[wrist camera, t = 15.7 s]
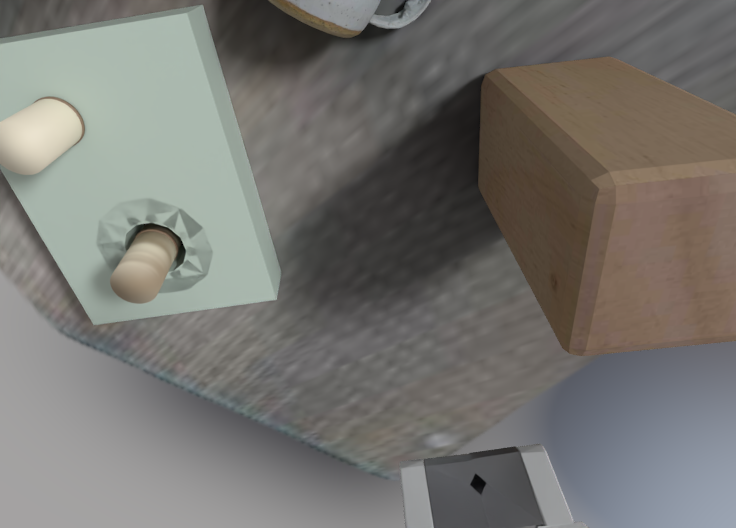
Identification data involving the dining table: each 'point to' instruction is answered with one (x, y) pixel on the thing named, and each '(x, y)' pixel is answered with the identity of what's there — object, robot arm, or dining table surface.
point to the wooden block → (614, 202)
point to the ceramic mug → (348, 14)
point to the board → (134, 160)
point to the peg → (145, 264)
